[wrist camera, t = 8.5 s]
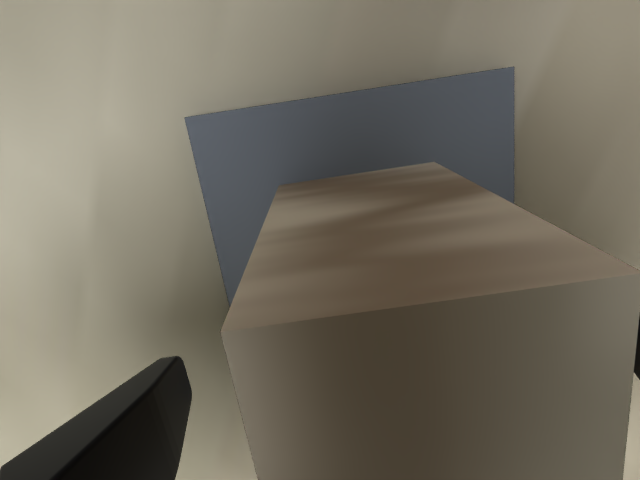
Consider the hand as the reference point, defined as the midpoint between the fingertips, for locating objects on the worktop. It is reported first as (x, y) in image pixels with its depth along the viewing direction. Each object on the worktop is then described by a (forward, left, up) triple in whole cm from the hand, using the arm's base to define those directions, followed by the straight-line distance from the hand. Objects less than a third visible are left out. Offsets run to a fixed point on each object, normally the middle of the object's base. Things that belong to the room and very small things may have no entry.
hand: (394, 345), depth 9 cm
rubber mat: (0, 0, -6) cm, 6 cm away
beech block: (0, 0, -6) cm, 6 cm away
